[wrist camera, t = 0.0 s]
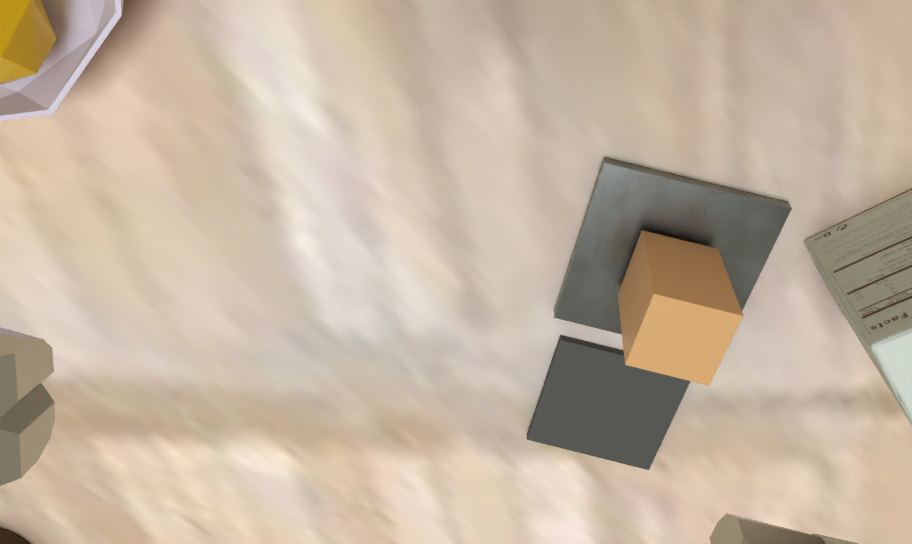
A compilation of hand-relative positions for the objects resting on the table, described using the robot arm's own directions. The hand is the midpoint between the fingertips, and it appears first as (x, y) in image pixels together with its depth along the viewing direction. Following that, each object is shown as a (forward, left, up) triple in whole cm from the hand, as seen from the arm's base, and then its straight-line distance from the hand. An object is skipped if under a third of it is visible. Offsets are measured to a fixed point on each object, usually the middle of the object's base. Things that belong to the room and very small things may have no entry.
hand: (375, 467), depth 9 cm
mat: (+28, +13, -39) cm, 50 cm away
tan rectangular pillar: (+15, +13, -37) cm, 42 cm away
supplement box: (+11, +26, -39) cm, 48 cm away
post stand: (+15, +13, -39) cm, 44 cm away
